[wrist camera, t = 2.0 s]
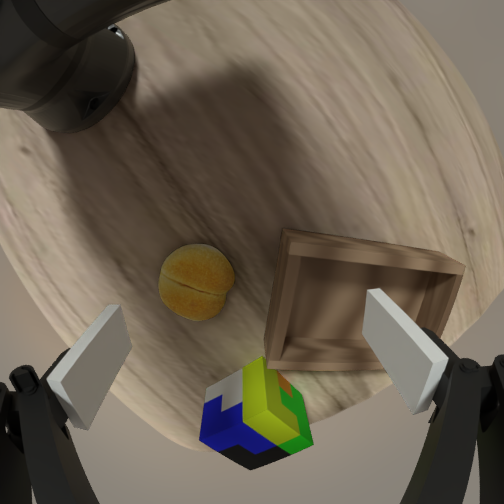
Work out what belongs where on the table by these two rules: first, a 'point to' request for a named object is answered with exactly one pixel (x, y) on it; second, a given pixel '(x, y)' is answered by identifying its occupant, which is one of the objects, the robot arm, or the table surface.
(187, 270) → the bread roll
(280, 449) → the puzzle toy
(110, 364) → the robot arm
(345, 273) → the wooden box
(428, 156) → the table surface
